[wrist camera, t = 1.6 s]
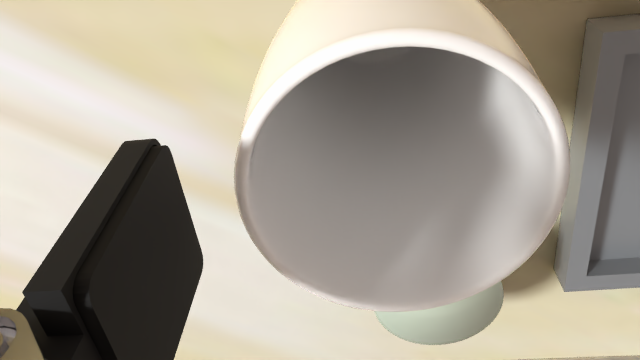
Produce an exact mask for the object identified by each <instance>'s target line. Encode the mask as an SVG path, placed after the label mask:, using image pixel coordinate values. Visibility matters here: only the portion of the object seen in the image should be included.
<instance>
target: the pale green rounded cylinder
mask: <svg viewBox="0 0 640 360" xmlns="http://www.w3.org/2000/svg"><path fill="white" fill-rule="evenodd" d="M503 297H504V293H503V286H502V283H501V281H500V282H498V283H497V284H495V285H493V286H491V287H490V288H488V289H486V290H484V291H482V292H480V293H478V294H476V295H474V296H471V297H469V298H466V299H463V300H461V301H458V302H455V303H451V304H448V305H444V306H440V307H436V308H431V309H425V310H418V311H407V312H382V311H375V314H376V316H377V318H378V320H379V322H380V323H381V324H382V325H383V326H384V327H385V328H386V329H387V330H388V331H389V332H391V333H392V334H394V335H395V336H397V337H399V338H401V339H404V340H406V341H409V342H413V343H418V344H425V345H442V344H449V343H455V342H458V341H462V340H464V339H467V338H469V337H471V336H473V335H475V334H477V333H479V332H480V331H482V330H483V329H485V328H486V327H487V326H488V325H489V324H490V323H491V322H492V321H493V320H494V319H495V317H496V316H497V315H498V313H499V311H500V309H501V306H502V303H503Z"/></svg>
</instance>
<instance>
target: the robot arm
mask: <svg viewBox="0 0 640 360" xmlns="http://www.w3.org/2000/svg"><path fill="white" fill-rule="evenodd" d="M202 269H203V255H202V251H201V248H200V245H199V241H198V238H197V235H196V232H195V228H194V225H193V222H192V219H191V215H190V212H189V209H188V206H187V202H186V199H185V196H184V193H183V189H182V186H181V183H180V180H179V177H178V173H177V170H176V167H175V164H174V160H173V157H172V154H171V151H170V149H169V148H168V146H166V145H165V146H161V145H160V143H159V142H158V141H157V140H156V139H146V140H134V141H125V142H124V143H123V144H122V145H121V147H120V148H119V150H118V151H117V152H116V154H115V155H114V157H113V158H112V160H111V161H110V163H109V164H108V166H107V167H106V169H105V170H104V172H103V173H102V175H101V176H100V178H99V179H98V181H97V182H96V184H95V185H94V187H93V188H92V190H91V191H90V193H89V194H88V196H87V197H86V198H85V200H84V201H83V203H82V204H81V206H80V207H79V209H78V210H77V212H76V213H75V215H74V216H73V218H72V219H71V221H70V222H69V224H68V225H67V227H66V228H65V230H64V231H63V233H62V234H61V236H60V237H59V239H58V240H57V242H56V243H55V244H54V246H53V247H52V249H51V250H50V252H49V253H48V255H47V256H46V258H45V259H44V261H43V262H42V264H41V265H40V267H39V268H38V270H37V271H36V273H35V274H34V276H33V277H32V279H31V280H30V282H29V283H28V285H27V286H26V288H25V289H24V290H23V292H22V293H23V294H24V296H25V298H24V299H23V301H22V302H21V304H20V305H19V307H18V308H17V310H13V309H3V308H0V360H174V357H175V354H176V351H177V348H178V344H179V341H180V338H181V335H182V332H183V329H184V326H185V323H186V320H187V317H188V314H189V310H190V307H191V304H192V301H193V298H194V295H195V292H196V289H197V286H198V283H199V279H200V276H201V273H202ZM518 360H640V355H638V356H605V357H575V358H547V359H518Z"/></svg>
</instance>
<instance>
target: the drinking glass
mask: <svg viewBox="0 0 640 360" xmlns="http://www.w3.org/2000/svg"><path fill="white" fill-rule="evenodd" d="M569 178H570V149H569V142H568V137H567V133H566V130H565V126H564V123H563V120H562V118H561V116H560V113H559V111H558V109H557V107H556V105H555V103H554V102H553V100H552V98H551V97H550V95H549V94H548V92H547V90H546V89H545V87H544V85H543V83H542V82H541V80H540V78H539V77H538V75H537V73H536V71H535V70H534V68H533V66H532V65H531V63H530V61H529V60H528V58H527V57H526V55H525V54H524V52H523V51H522V49H521V48H520V47H519V45H518V44H517V43H516V41H515V40H514V39H513V37H512V36H511V35H510V33H509V32H508V31H507V29H506V28H505V27H504V26H503V24H502V23H501V22H500V21H499V20H498V19H497V18H496V17H495V16H494V14H493V13H492V12H491V11H490V10H489V9H488V8H487V7H486V6H485V5H484V4H483V3H482V2H481V1H480V0H296V2H295V4H294V5H293V7H292V8H291V10H290V11H289V13H288V14H287V16H286V17H285V19H284V21H283V22H282V24H281V26H280V27H279V29H278V31H277V32H276V34H275V36H274V38H273V40H272V42H271V43H270V45H269V47H268V49H267V52H266V54H265V56H264V59H263V61H262V63H261V66H260V68H259V71H258V73H257V76H256V79H255V82H254V85H253V88H252V92H251V95H250V98H249V102H248V105H247V109H246V113H245V117H244V121H243V126H242V131H241V136H240V140H239V144H238V147H237V152H236V158H235V167H234V188H235V195H236V201H237V206H238V209H239V212H240V216H241V219H242V221H243V223H244V226H245V228H246V230H247V232H248V234H249V236H250V238H251V239H252V241H253V243H254V244H255V245H256V247H257V248H258V250H259V251H260V252H261V254H262V255H263V256H264V257H265V258H266V260H267V261H268V262H269V263H270V264H271V265H272V266H273V267H274V268H275V269H276V270H277V271H279V272H280V273H281V274H282V275H284V276H285V277H286V278H287V279H289V280H290V281H292V282H293V283H295V284H296V285H298V286H299V287H301V288H303V289H305V290H306V291H308V292H310V293H312V294H314V295H316V296H319V297H321V298H323V299H326V300H329V301H331V302H334V303H337V304H341V305H344V306H348V307H353V308H358V309H363V310H371V311H382V312H407V311H418V310H425V309H431V308H436V307H440V306H444V305H448V304H451V303H455V302H458V301H461V300H463V299H466V298H469V297H471V296H474V295H476V294H478V293H480V292H482V291H484V290H486V289H488V288H490V287H491V286H493V285H495V284H497V283H498V282H500V281H501V280H503V279H504V278H506V277H507V276H509V275H510V274H511V273H513V272H514V271H515V270H516V269H518V268H519V267H520V266H521V265H522V264H523V263H524V262H525V261H526V260H527V259H529V258H530V257H531V256H532V254H533V253H534V252H535V251H536V250H537V249H538V248H539V247H540V245H541V244H542V243H543V241H544V240H545V238H546V237H547V236H548V234H549V233H550V231H551V229H552V228H553V226H554V224H555V222H556V220H557V218H558V216H559V214H560V212H561V210H562V207H563V204H564V201H565V198H566V194H567V189H568V185H569Z"/></svg>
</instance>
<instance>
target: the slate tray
mask: <svg viewBox="0 0 640 360" xmlns="http://www.w3.org/2000/svg"><path fill="white" fill-rule="evenodd" d="M554 271H555V273H556V275H557V277H558V279H559V282H560V284H561V286H562V288H563V290H564V292H570V291H587V290H604V289H621V288H638V287H640V14H632V15H623V16H613V17H603V18H594V19H587V23H586V30H585V38H584V45H583V53H582V60H581V68H580V75H579V83H578V90H577V98H576V105H575V113H574V120H573V128H572V135H571V143H570V178H569V185H568V189H567V194H566V198H565V201H564V204H563V207H562V210H561V218H560V225H559V233H558V240H557V248H556V255H555V263H554Z"/></svg>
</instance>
